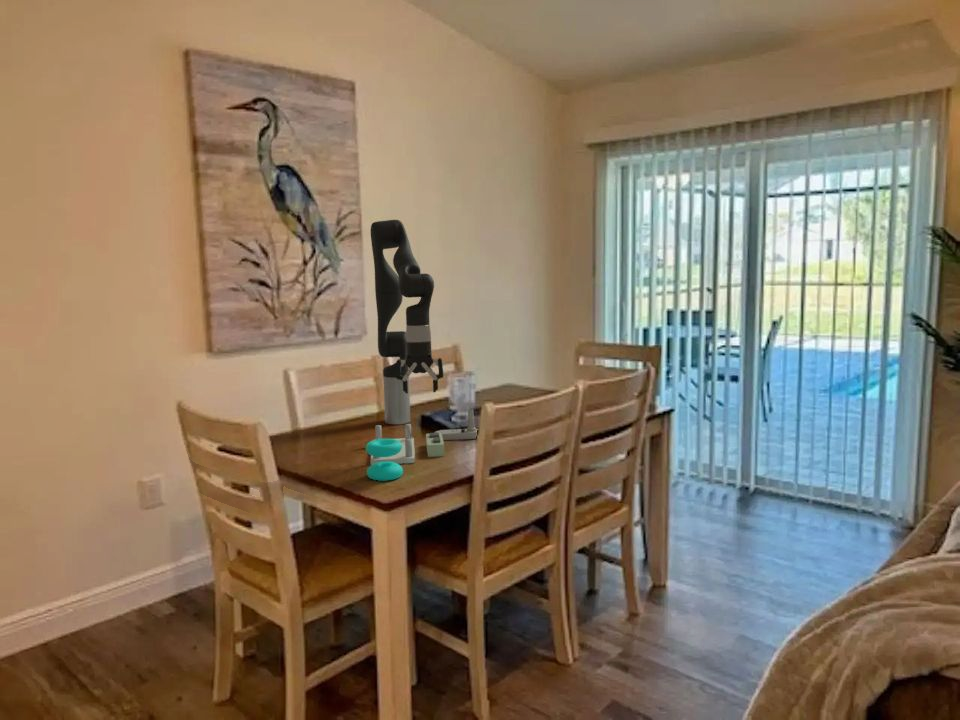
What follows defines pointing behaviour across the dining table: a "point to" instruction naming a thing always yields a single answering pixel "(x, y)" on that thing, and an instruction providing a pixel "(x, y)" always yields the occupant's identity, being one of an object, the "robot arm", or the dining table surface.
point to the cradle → (406, 452)
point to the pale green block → (435, 444)
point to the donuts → (384, 469)
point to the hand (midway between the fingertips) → (420, 392)
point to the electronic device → (461, 430)
